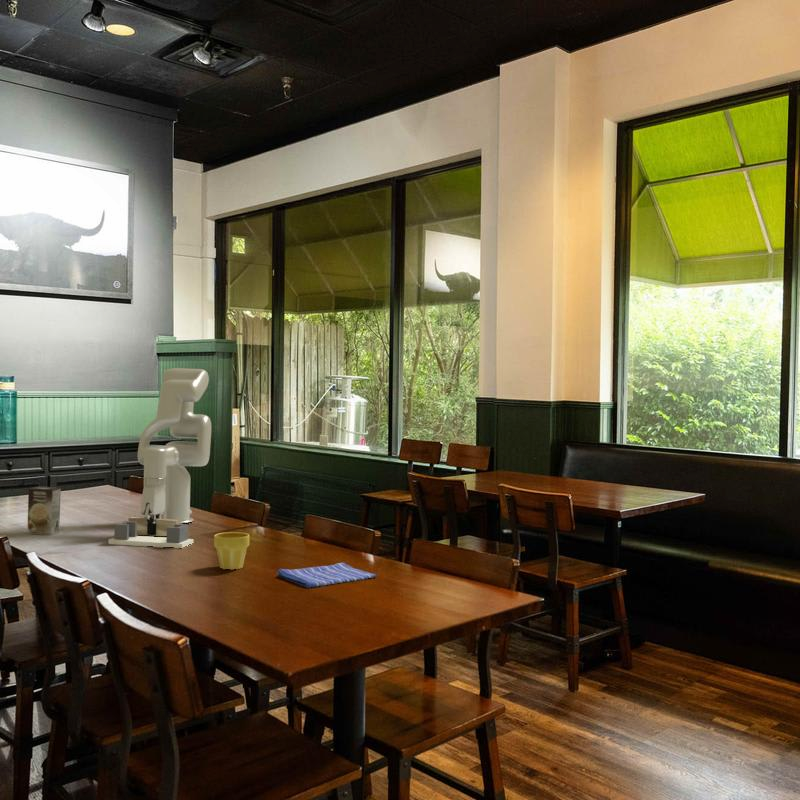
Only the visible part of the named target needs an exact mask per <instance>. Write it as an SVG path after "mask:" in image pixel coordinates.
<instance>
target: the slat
mask: <svg viewBox="0 0 800 800" xmlns="http://www.w3.org/2000/svg"><path fill="white" fill-rule="evenodd" d="M127 521H131V522H137V536H138V535H147V520H146V519H145V518H144V517H137V516H136V517H135V516H131V517H128V520H127ZM155 524H156V535H153V536H151V535H150V536H149V537H154V536H167V527H174V525H175V524H179V520H174V519H162V518H161V519H156V522H155Z"/></svg>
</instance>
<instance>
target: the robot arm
mask: <svg viewBox="0 0 800 800" xmlns="http://www.w3.org/2000/svg"><path fill="white" fill-rule="evenodd" d="M162 376H163V377H162V378H163V382H162V384H161V386H160V392H159V397H158V399H159V400H158V404H157V405H158V406H157V411H156V416H155V417H154V419H153V420H152V421H151V422H150V423H149V424H148V425H147V426H146V427H145V428H144V430H143V431H142V432H141V435H140V438H139V443H138V448H137V449H138V450H137V460H138V462H139V464H140V465H141V466H142V465H143V490H142V494H141V495H142V496H141V503H140V504H141V506H140V513H141V515H142V516H144V517H143V518H145V519H146V520H147V535H156V524H155V522H156V519H174V520H179V523H188V522H192V521H193V520H194V518H192V517H190V515H192V513H193V511H192V509H191V506H190V505H191V475H190V473H189V471H188V470H187V468H186V467H204V466H206V465H207V464H208V463H209V460H210V456H211V441H212V421H211V418H210V417H209V416H208V415H206V414H203V413H202V414H200V413H198V414H197V413H194V405H195V404H194V403H197V402H199V401H200V400H201V398H202V396H203V394H204V393H205V392H206V390H207V388H208V386H209V381H210V377H209V373H208V371H206V370H205V369H202V368H183V367H181V368H180V367H173V368H168V369H165V371H164V372H163V374H162ZM166 429H169V433H170V435H171V437H174V438H177V439H178V438H179V439H196V440H197V441H187V440H186V441H185V440H184V441H183V440H182V441H181V440H173V441H170V442H168V443H166V444H165V445H161V444H160V445H159V444H150V442H152V441H151V440H152V438H153V437H154V436H155V435H156V434H158V433H159V432H161V431H164V430H166ZM163 514H164V516H163ZM162 516H163V518H162ZM192 523H193V522H192Z"/></svg>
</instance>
